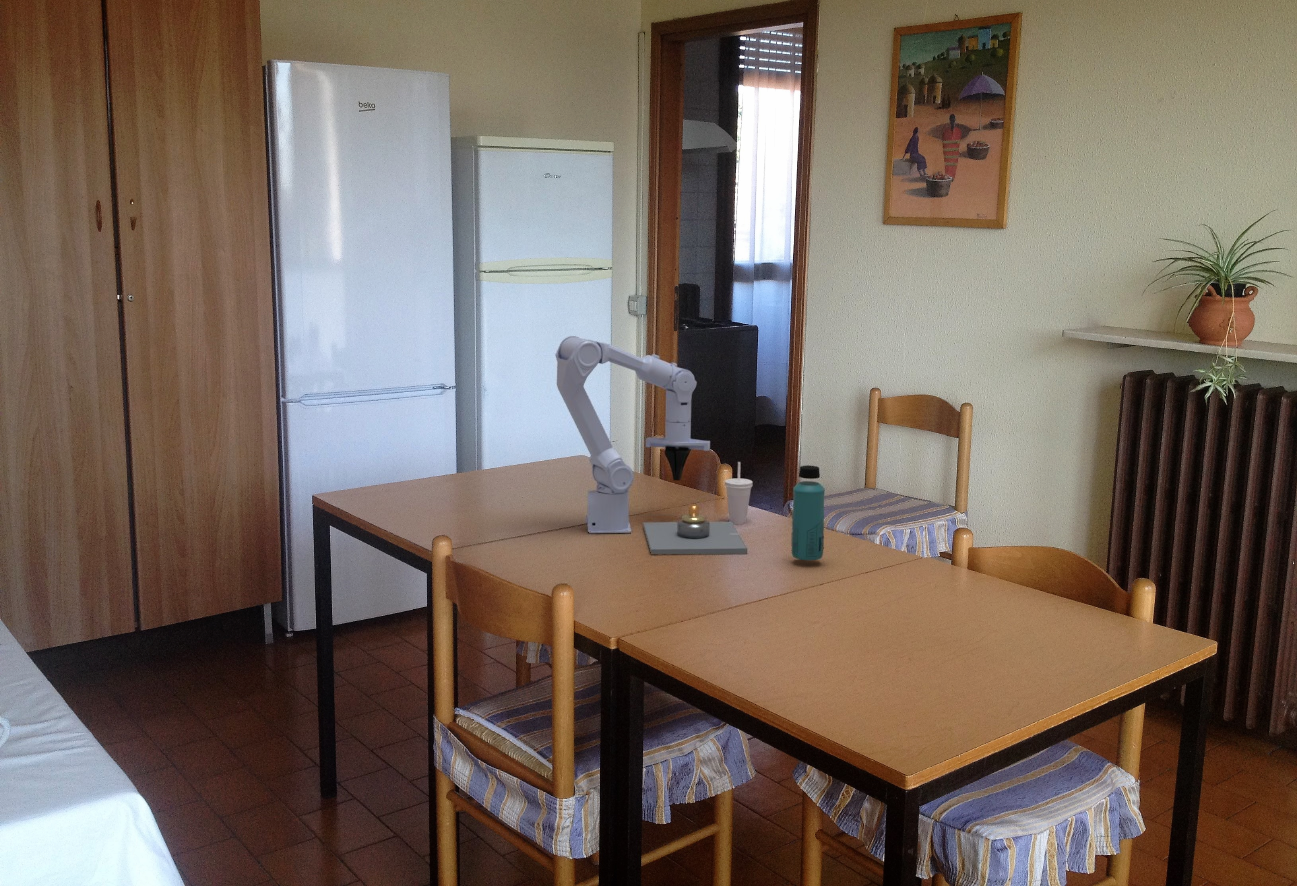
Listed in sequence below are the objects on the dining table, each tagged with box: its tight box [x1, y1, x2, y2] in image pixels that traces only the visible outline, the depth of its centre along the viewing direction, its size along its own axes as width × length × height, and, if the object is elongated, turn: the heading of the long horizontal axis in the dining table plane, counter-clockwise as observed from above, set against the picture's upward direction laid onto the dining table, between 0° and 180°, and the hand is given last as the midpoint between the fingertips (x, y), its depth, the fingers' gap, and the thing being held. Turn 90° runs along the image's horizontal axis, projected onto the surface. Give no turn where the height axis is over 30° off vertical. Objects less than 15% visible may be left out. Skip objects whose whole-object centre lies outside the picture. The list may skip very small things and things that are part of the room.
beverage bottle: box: [790, 464, 826, 561], centre depth 233 cm, size 6×7×20 cm
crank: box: [677, 503, 711, 538], centre depth 252 cm, size 12×7×4 cm, turn 178°
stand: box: [642, 521, 748, 555], centre depth 250 cm, size 20×22×1 cm
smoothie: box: [724, 461, 754, 525], centre depth 265 cm, size 6×6×14 cm
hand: (677, 479), depth 264 cm, fingers closed
